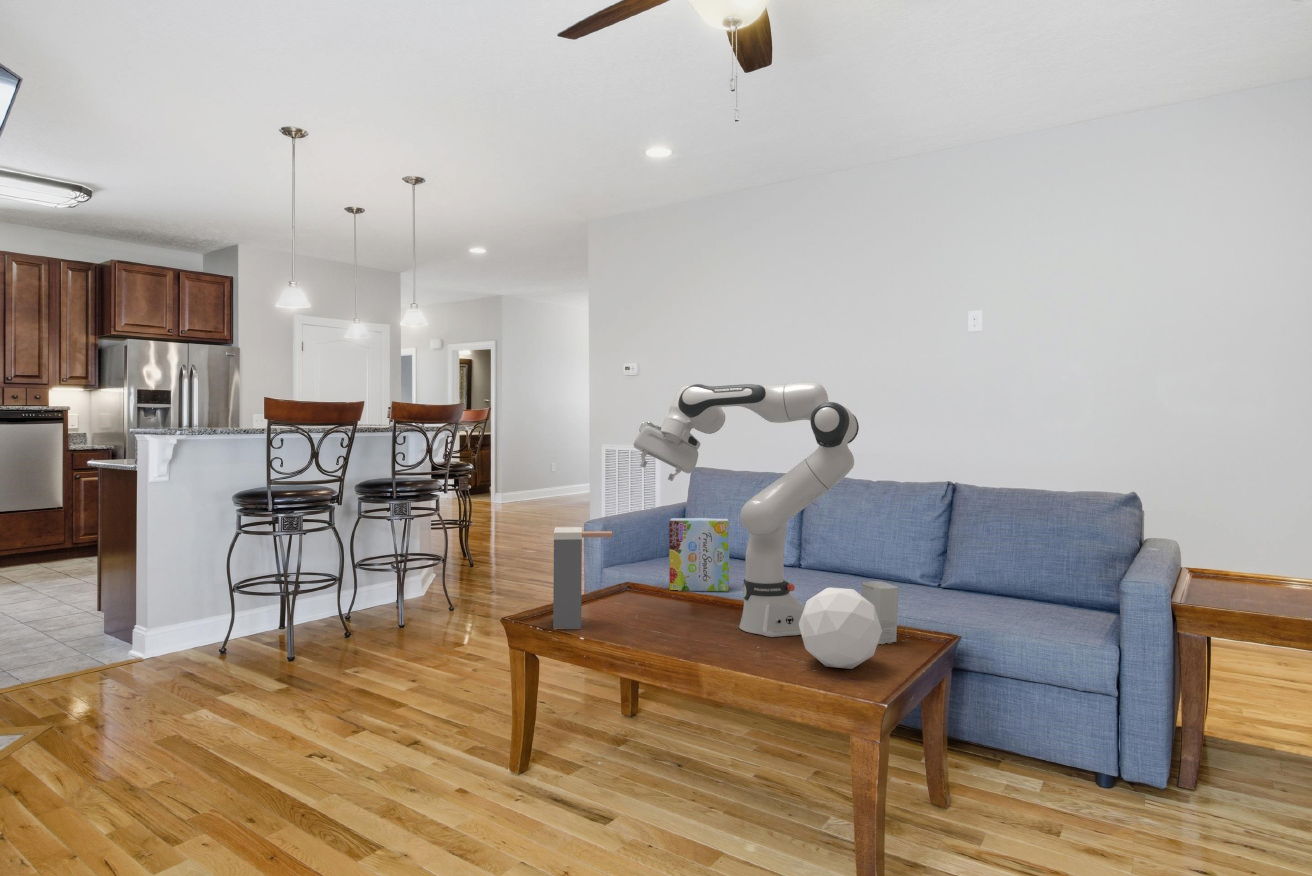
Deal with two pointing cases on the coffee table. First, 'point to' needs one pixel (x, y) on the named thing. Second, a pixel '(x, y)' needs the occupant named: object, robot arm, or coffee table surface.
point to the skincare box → (883, 607)
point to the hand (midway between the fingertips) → (656, 473)
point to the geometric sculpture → (840, 628)
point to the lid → (578, 533)
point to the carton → (567, 584)
